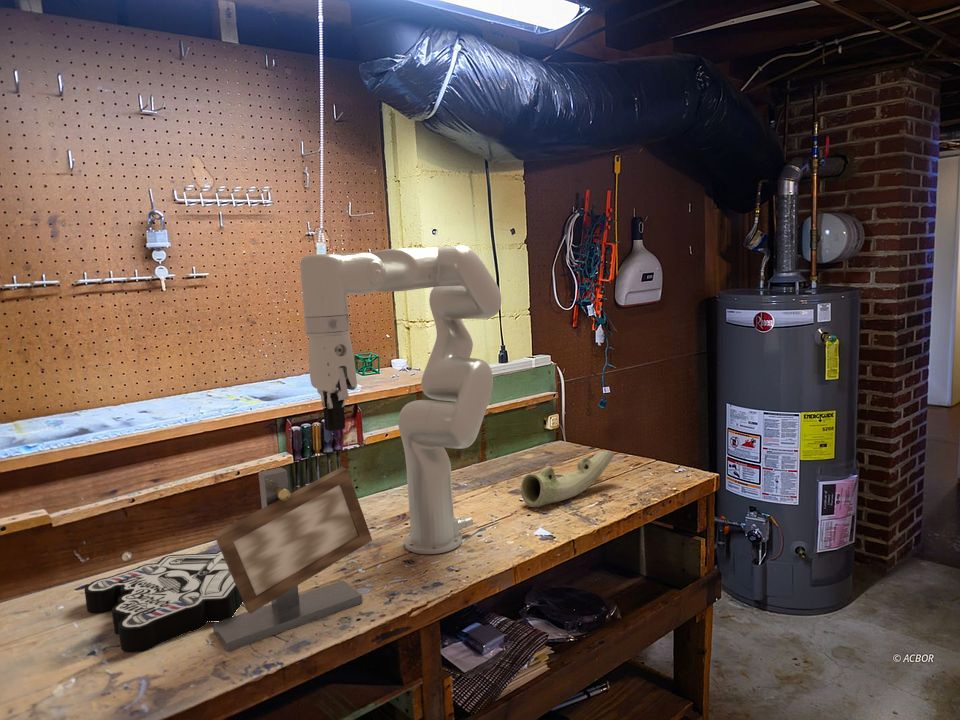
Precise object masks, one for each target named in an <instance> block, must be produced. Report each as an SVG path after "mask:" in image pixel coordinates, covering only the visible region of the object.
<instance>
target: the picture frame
mask: <svg viewBox="0 0 960 720" xmlns="http://www.w3.org/2000/svg"><path fill="white" fill-rule="evenodd" d="M356 493H357V492H356V491H355V487H354V484H353V482H352V480H351V477H350V473H349V471H348V469H347V468H346V467H344V466H340V467H339V468H337V469H335V470H333V471H331V472H329V473H328V474H327V473H326V475H324V476H322V477H320V478H318V479H316V480H315V481H312V482H311V483H308V484H307V485H304V486H302V487H301V488H299V489H297V490H295V491H293V492H290V498H289V499H288V500H286V501H281V500H278V501H276V502H274V503H272V504H270V505H268V506H266V507H264V508H262V507H261V509H258V510H257V511H255V512H253V513H251V514H249V515H246V516H245V517H244V518H241V519H239V520H238V521H237V520H236V522H234V523H231V524H230V525H228V526H226V527H224V528H222V529H220V530H219V531H217V532H215V533H213V536H214V538H215V541H216V543H217V544H218V548H219V551H220V550H221V552H222V554H223V557H224V559H225V561H226V564H227V566H228V568H229V571H230V573H231V575H232V578H233V580H234V582H235V584H236V587H237V589H238V591H239V594H240V596H241V598H242V601H243V604H244V607H245V610H246V611H247V612H249V613H250V614H251V613H253V612H255V611H256V610H258V609H259V608H261V607H264V606H267V605H269V603H271V601H273V600H274V599H276V598H278V597H279V596H281V595H283V594H284V593H286V592H288V591H289V590H291V589H293V588H294V587H296V586H298V587H299V585H301V584H302V583H304V582H306V581H308V580H309V579H311V578H313V577H315V576H316V575H317V574H319V573H321V572H322V571H324V570H326V569H328V568H329V567H331V566H332V565H334V564H336V563H337V562H339V561H340V560H342V559H344V558H346V557H348V556H349V555H350V554H352V553H354V552H356V551H357V550H359V549H361V548H362V547H364V546H366V545H367V544H368V543H370V542H372V541H373V538H372V535H371V533H370V529H369V527H368V523H367V521H366V519H365V516H364V512H363V510H362V507H361V504H360V502H359V499H358V496H357V494H356Z"/></svg>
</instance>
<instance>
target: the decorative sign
mask: <svg viewBox="0 0 960 720" xmlns="http://www.w3.org/2000/svg"><path fill="white" fill-rule="evenodd" d="M84 598H85V604H86V611H87V612H88V613H89V614H106V613H109V612H111V613H112V621H113V630H114V634H116V635H119V641H120V643H119V644H120V649H121V651H122V652H124V653H128V654H131V653H132V654H133V653H143V652H146V651H148V650H151V649H152V648H154V647H156V646H158V645H160V644H163V643H165V642H167V640H168V641H170V640H172V638H173V639H175V638H177V636H178V637H180V636H182V635H181V634H183V635H185V634H187V632H188V633H190V632H189V631H192V632H195V631H197V629H198V630H200V629H202V628H203V627H202V626H204V625H205V626H206V625H207V624H206V622H207V621H208V623H212V622H211V621H222V620H225V619H228V618H231V617H232V616H233V615H234V613H235V612H236V610H237V609H238V608H239V607H240V608H241V606H242V605H243V604H242V602H243V601H242V598H241V596H240V594H239V591H238V589H237V587H236V584H235V582H234V580H233V578H232V575H231V573H230V571H229V568H228V566H227V564H226V561H225V559H224V557H223V554H222V552H221V550H220V549H219V551H217V552H210V553H204V552H203V553H185V554H169V555H168V554H167V555H165V556H163V557H162V558H161V559H159V561H157V562H154V563H153V562H152V563H146V564H143V565H139V566H138V567H136V568H133V569H129V570H126V571H123V572H120V573H116V574H114V575H111V576H108V577H104V578H103V577H102V578H99V579H95V580H93V581H91V582H90V583H88V584H87V585H86V586H85V587H84ZM241 604H242V605H241ZM240 605H241V606H240ZM240 608H239V609H240ZM239 609H238V610H239ZM236 613H237V612H236ZM236 613H235V614H236ZM234 616H235V615H234ZM234 616H233V617H234ZM209 621H210V622H209ZM205 626H204V627H205ZM201 627H202V628H201ZM199 628H200V629H199ZM194 630H195V631H194ZM184 633H185V634H184ZM179 635H180V636H179ZM162 642H163V643H162Z"/></svg>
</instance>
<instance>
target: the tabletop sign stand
mask: <svg viewBox="0 0 960 720" xmlns="http://www.w3.org/2000/svg"><path fill="white" fill-rule="evenodd" d="M258 481H259V490H260V491H259V492H260V503H261V509H262V508H264V507H266V506H268V505H270V504H272V503H274V502H276V501H278V500H281V501H286V500H288V499H289V498H290V494H291V492H290V489H289V487H290V486H289V477H288V470H286V469H285V468H283V467H277V468H271V469H267V470H263V471H258ZM361 604H363V595H362V594H361V593H360V592H359V591H358V590H356V589H355V587H352V586H351V585H350V584H349V583H348V582H346V581H345V580H344V579H342V580H339V581H337V582H336V581H335V582H333V583H330V584H327V585H324V586H322V587H319V588H315V589H312V590H309V591H306V592H303V593H300V594H299V585H298V586H296V587H294V588H293V589H291V590H289V591H288V592H286V593H284V594H283V595H281V596H279V597H278V598H276V599H274V600H273V601H271V602H270V604H266V605H264V606H263V607H261V608H259V609H258V610H256V611H255V612H253V613H251V614H250V613H249V612H248V611H247V612H243V613H240V614H238V615H234V616H233V617H231V618H228V619H225V620H222V621H219V622H212V628H213V629H212V630H213V633H214V634H215V636H216V637H217V639H218V640H219V641H220V643H221V644H223V645H222V646H223V648H224V649H225V650H226V652H230V650H231V651H234V650H236V649H239V648H241V647H245V646H248V645H249V644H252V643H255V642H258V641H260V640H264V639H266V638H269V637H272V636H274V635H275V636H276V635H278V634H280V633H283V632H286V631H288V629H289V630H292V629H294V628H297V627H300V626H302V625H305V624H308V623H310V622H313V621H316V620H319V619H321V618H322V619H323V618H325V617H328V616H330V615H333V614H336V613H338V612H341V611H344V610H347V609H349V608H352V607H355V606H358V605H361Z"/></svg>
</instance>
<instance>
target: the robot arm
mask: <svg viewBox="0 0 960 720" xmlns="http://www.w3.org/2000/svg"><path fill="white" fill-rule="evenodd" d="M299 265H300V266H299V267H300V268H299V269H300V280H301V282H300V283H301V293H302V304H303V306H302V307H303V318H304V331H305V337H308V366H309V367H308V368H309V370H308V371H309V379H310V384H311V385H312V387H313V388H314V389H316V391H317V393H318V394H319V395H320V399H321V400H320V401H321V406H322V407H323V408H322V411H323V422H324V430H325V431H329V432H335V431H340V430H345V428H346V420H345V406H346V404H345V401H346V400H348V399H349V398H350V397H349V391H348V390H350V391H353V390H356V388H357V387H358V383H357V382H358V381H357V372H356V364H355V355H354V350H353V345H352V340H351V336H350V331H351V330H350V319H349V318H350V317H349V306H348V305H349V304H348V295H352V296H353V295H355V296H356V295H357V296H358V295H368V294H372V293H375V292H378V293H380V292H382V293H390V292H392V293H393V292H396V293H397V292H406V291H414V290H421V289H428V288H429V289H431V288H432V289H431V290H430V293H429V300H428V301H429V308H430V311H431V314H432V317H433V321H434V325H435V329H436V330H435V331H436V338H435V342H434V345H433V348H432V350H431V353H430V355H429V358H428V361H427V363H426V366H425V369H424V371H423V374H422V377H421V383H420V387H421V391H422V393H423V395H425V396H426V397H428V398H430V399H431V400H429V399H418V400H413V401H410V402H408V403H406V404H405V405H404V406H403V407H402V408H401V410H400V413H399V415H398V418H397V419H398V423H397V424H398V431H399V434H400V438H401V442H402V446H403V450H404V451H403V452H404V457H405V465H406V466H405V467H406V468H405V469H406V479H407V480H406V482H407V497H408V511H409V513H408V514H409V524H410V525H409V526H410V527H409V528H410V533H409V534H407V535H406V536H405V537H404V541H403V542H404V544H403V545H404V547H405V549H406V550H408V551H410V552H411V553H414V554H418V555H419V554H420V555H436V554H437V555H438V554H443V553H447V552H450V551H452V550H455V549H457V548H458V547H459V546H460V545H461V544H462V543H463V534H462V532H460V531H462V529H463V528H467V527H470V526H473V524H474V519H473V518H472V517H471V516H467V517H465V518H464V517H463V519H462V517H461V516H456V517H455V513H454V501H453V500H454V499H453V483H452V481H453V480H452V465H451V464H452V463H451V460H450V458H449V455H448V453H447V451H446V449H447V448H448V449H457V450H458V449H459V450H460V449H467V448H469V447H470V446H471V445H473V444H474V442H475V441H476V440H477V437H478V435H479V433H480V429H481V426H482V424H483V420H484V418H485V414H486V412H487V408H488V405H489V402H490V399H491V396H492V392H493V388H494V376H493V371H492V369H491V366H490V365H489V363H487V362H486V361H484V360H483V359H480V358H473V357H471V355H472V351H473V346H474V343H473V342H474V341H473V340H472V336H471V334H470V332H469V330H468V329H467V328H466V326H465V324H464V322H463V320H469V319H470V320H474V319H476V320H477V319H480V320H481V319H482V320H483V319H485V320H486V319H490V318H493V317H495V316H496V315H497V314H498V313H499V311H500V310H501V306H502V294H501V290H500V287H499V286H498V284H497V282H496V280H495V279H494V276H492V274H491V273H490V271H489V269H488V268H487V267H486V265H485V263H484V262H483V261H482V259H481V258H480V257H479V255H478V254H477V253H476V252H475V251H474V250H473V249H471V248H470V247H469V246H466V245H447V246H446V245H444V246H443V245H442V246H430V247H429V246H427V247H398V248H389V249H388V248H387V249H382V250H381V249H380V250H375V251H368V252H367V251H366V252H363V251H362V252H344V253H324V254H323V253H321V254H319V253H318V254H308V255H305V256H303V257H302V258H301V259H300V263H299ZM432 399H433V400H432ZM445 448H446V449H445Z"/></svg>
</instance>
